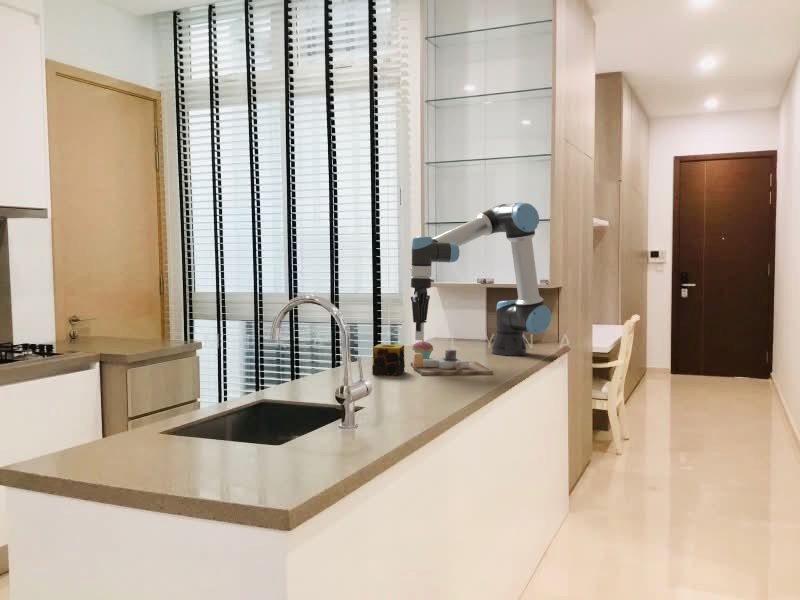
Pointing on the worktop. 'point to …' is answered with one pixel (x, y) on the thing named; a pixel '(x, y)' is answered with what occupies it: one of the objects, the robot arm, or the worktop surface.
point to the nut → (437, 362)
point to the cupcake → (423, 348)
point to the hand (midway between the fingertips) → (419, 339)
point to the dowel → (458, 366)
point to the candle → (388, 359)
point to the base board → (451, 356)
